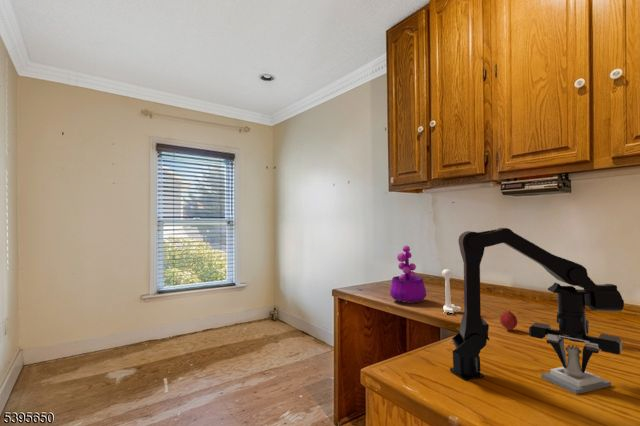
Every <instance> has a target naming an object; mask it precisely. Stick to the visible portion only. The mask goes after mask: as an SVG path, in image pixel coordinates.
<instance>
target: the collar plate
mask: <svg viewBox="0 0 640 426" xmlns="http://www.w3.org/2000/svg"><path fill="white" fill-rule="evenodd" d="M564 369H565V368H564V367H563V366H559V367H556V368H555V367H554V368H550V369H549V370H550V371H549V372H545V373H544V372H543V373H541V378H542V379H543V380H546V381H548V382H550V383H552V384H553V385H556V386H558V387H560V388H562V389H564V390H566V391H569V392H570V393H572V394H575V395H578V394H583V393H587V392H591V391H596V390H599V389H603V388H604V389H605V388H608V387H609V388H610V387H611V386H612V382H611V381H610V380H607V379H604V378H602V377H601V376H599V375H597V374H594V373H591V372H589V371H586V370H585V372H584V373H585V375H584V377H585V378H583V379H579V380H578V379H575V378H573V377H571V376H568V375H566V374H564V373H565V371H564Z"/></svg>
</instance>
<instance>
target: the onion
mask: <svg viewBox="0 0 640 426" xmlns="http://www.w3.org/2000/svg"><path fill="white" fill-rule="evenodd" d="M499 322H500V324H501V326H502V327H504V328H505V329H506V331H512V330H514V329H515V328H516V327H517V325H518V317H516V316H515V314H514V313H513V312H511V311H510V309H506V310H505V312H503V313H502V314H501V315H500V317H499Z"/></svg>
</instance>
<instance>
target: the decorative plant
mask: <svg viewBox="0 0 640 426" xmlns="http://www.w3.org/2000/svg"><path fill="white" fill-rule="evenodd" d="M410 250H411V247H410V246H409V245H407V244H406V245H404V246H402V251H403V252H401V253H398V254H397V257H396V260H397V261H399V262H398V266H397V267H398V269H399V270H401V271H402V272H403V274H400V275H397V276H394V277H392V278H391V285H390V289H389V295H390V296H391V298H392V299H393V300H395V301H398V302H400V301H405V302H415V303H418V302H422V301H424V300H425V298H426V297H427V290H426V287H425V283H424V282H425V281H424V278H423V277H421V276H417V274H416V272H414V271H415V270H416V269H417V265H416V264H415V263H413V262H412V263H411V262H409V260H410V259H411V258H412V253H411V252H410ZM417 301H418V302H417ZM405 302H404V303H405Z"/></svg>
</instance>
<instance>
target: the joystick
mask: <svg viewBox="0 0 640 426" xmlns="http://www.w3.org/2000/svg"><path fill="white" fill-rule="evenodd" d="M441 276H442V278H444V281H445V282H444V283H445V286H444V287H445V288H444V289H445V291H444V292H445V304H444V305H443V306H442V307H443V310H444V312H449V313H448V314H450V313H453V311H461V312H462V307H460V306H456V305H455V304H453V303H452V299H451V285H450V283H451V282H450V280H451V277H452V276H453V272H452V270H451V269H449V268H444V269H443V270H442V271H441ZM444 312H443V313H444ZM453 314H454V313H453Z"/></svg>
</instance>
